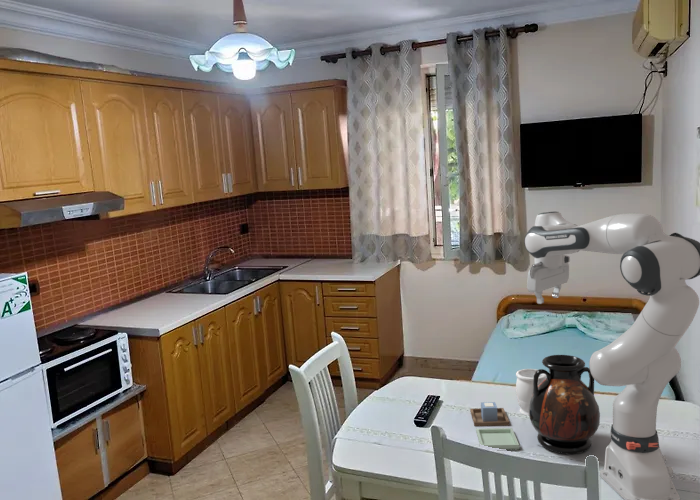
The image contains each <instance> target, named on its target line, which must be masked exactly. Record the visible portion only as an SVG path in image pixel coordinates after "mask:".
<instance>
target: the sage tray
mask: <svg viewBox="0 0 700 500" xmlns="http://www.w3.org/2000/svg"><path fill="white" fill-rule="evenodd" d="M475 433H476V437H477V440H478V443H479V445H480V444H481V445H484V446H488V447H492V448H499V449H506V450H505V451H520V444H519V442H518V439H517V437H516V434H515V431H514V429H513V428H512V427H506V428H505V427H503V428H499V427H498V428H497V427H496V428H476V429H475Z"/></svg>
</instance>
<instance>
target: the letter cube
mask: <svg viewBox="0 0 700 500" xmlns="http://www.w3.org/2000/svg"><path fill="white" fill-rule="evenodd" d="M480 408H481V416H482V419H483V422H488V421H498V417H497V408H498V406H497V403H496V402H495V401H493V402H492V401H488V402H487V401H486V402H485V401H484V402H480Z"/></svg>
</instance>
